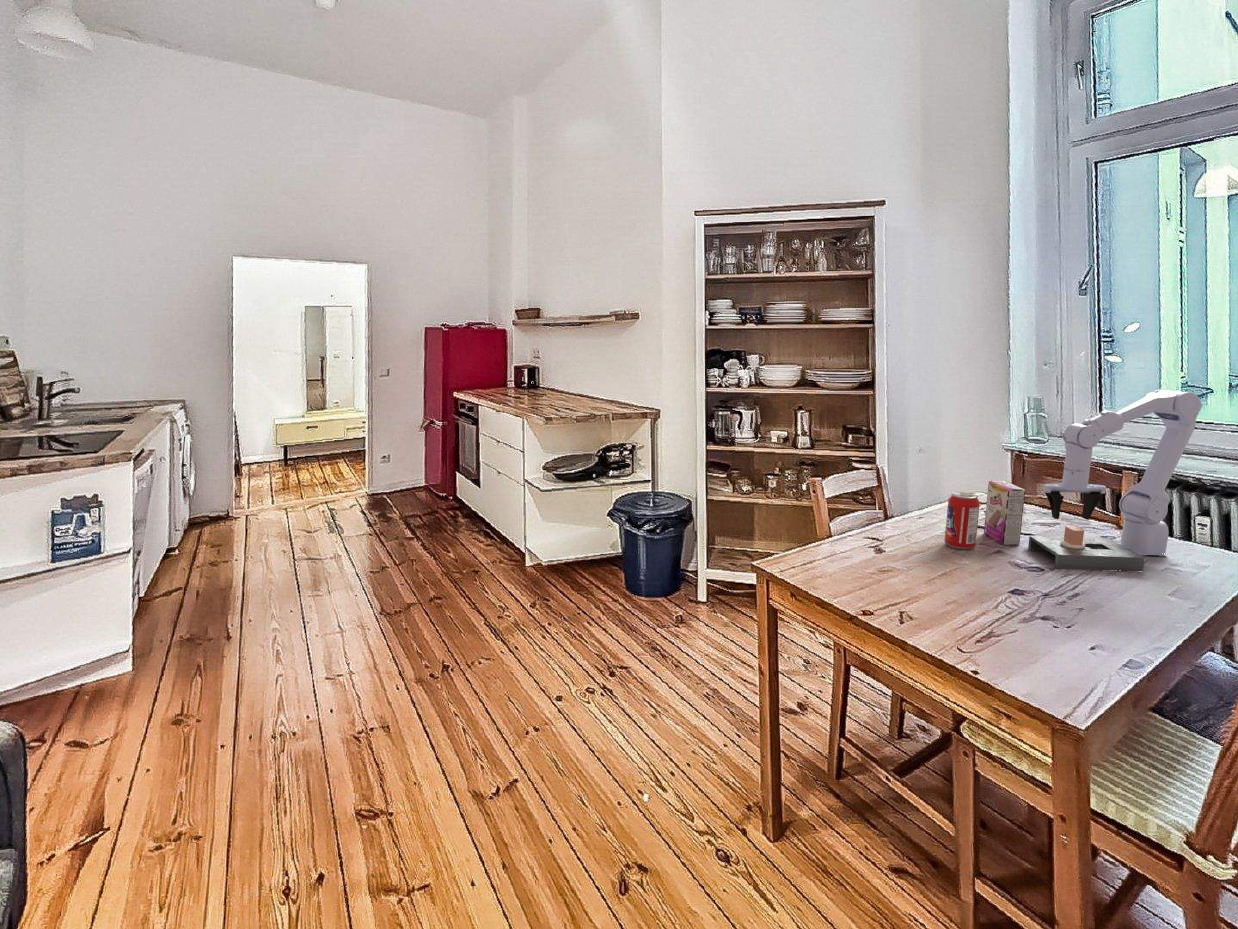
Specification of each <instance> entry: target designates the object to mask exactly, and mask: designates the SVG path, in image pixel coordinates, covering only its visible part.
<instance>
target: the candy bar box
mask: <svg viewBox="0 0 1238 929" xmlns="http://www.w3.org/2000/svg"><path fill="white" fill-rule="evenodd" d="M986 496H987V497H986V508H985V514H984V515H985V517H984V526H983V527H984V528H983V534H984V535H986V536H987V537H989V538H990V539H993V540H994V541H996V542H997V543H999V544H1001V545H1002V546H1020V541H1021V535H1022V534H1021V533H1022V532H1021V531H1022V523H1023V515H1024V508H1025V507H1024V506H1025V499H1026V498H1025V496H1026V489H1025V488H1023V487H1020V486H1018V485H1015V484H1013V483H1011V482H1008V481H1006V480H989V481H988V485H987V495H986Z"/></svg>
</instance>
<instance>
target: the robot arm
mask: <svg viewBox="0 0 1238 929" xmlns="http://www.w3.org/2000/svg"><path fill="white" fill-rule="evenodd" d="M1202 407H1203V403H1202V402H1201V400H1200V398H1199V396H1198V395H1197V393H1194V392H1192V391H1186V392H1185V391H1176V390H1167V389H1157V390H1154V391H1153V392H1149V393H1147V394H1146V396H1145V397H1143V398H1142V399H1139V400H1137V401H1136V402H1133V403H1132V404H1129V405H1127V406H1126V407H1124V408H1122V409H1120V410H1118V411H1116V412H1115V411H1113V410H1103V411H1100V412H1099V413H1100V414H1099V415H1096V416H1094V417H1092V418H1089V419H1088V418H1087V419H1084V420H1083V422H1081V423H1071V424H1070V425H1069V426H1067V427H1066V429H1064V432H1063V433H1061V435H1062V436H1061V437H1062V440H1063V442H1064V443H1065V445H1064V449H1065V455H1064V457H1065V459H1064V464H1063V472H1062V479H1061V480H1062V482H1059V483H1045V484H1044V483H1043V490H1042V491H1043V492H1044V493H1045V496H1046V498H1047V500H1048V502H1049V507H1050V511H1051V517H1052V519H1055V520H1059V519H1060V515H1061V507H1062V504H1063V500H1064V498H1065V496H1064V495H1062V494H1061V493H1073V494H1074V493H1077V494H1078V493H1082V499H1083V505H1082V506H1083V507H1082V516H1081V518H1082V519H1084V520H1086V521H1089V520H1090V518H1091V517H1092V514H1093V512H1094V510H1095V509H1096V507H1097V506H1098V504H1099V503H1100V502H1101V501H1102V500H1103V499H1104V498H1103V497H1104V495H1103V494H1105V495H1106V490H1107V486H1105V485H1102V484H1092V483H1091V484H1090V483H1089V480H1090V479H1089V478H1090V472H1091V471H1090V470H1091V462H1092V456H1093V448H1094V447H1096V446H1097V445H1098V444H1099V442H1100V441H1101V439H1103V438H1106V437H1108V436H1110V435H1113V434H1114V433H1117V432H1120V431H1121V430H1122V429H1123V428H1124V425H1125V424H1126V423H1128V422H1131V421H1134V420H1137V419H1139V418H1141V417H1144V416H1147V415H1149V414H1152V413H1153V414H1154V415H1155V416H1156V417H1157V418H1158V419H1159V420H1160V421H1162V423H1163V425H1164V426H1165V430H1164V433H1163V434H1162V437H1161V439H1160V440H1159V443H1158V444H1157V446H1156V448H1155V451H1154V453H1153V455H1152V456H1151V459H1150V461H1149V464H1148V465H1147V468H1146V470H1145V471H1144V474H1143V476H1142V478H1141V480H1140V481H1139V482H1137V483H1135V484H1133V485H1131V486H1129V488H1128V491H1126V493H1125V494H1124V495H1122V497H1121V498H1120V499H1119V503H1118V507H1119V510H1120V512H1122V517H1124V518H1123V519H1124V520H1123V523H1122V525H1123V526H1122V532H1121V538H1120V539H1121V540H1120V543H1119V544H1120V545H1122V546H1124V547H1126V548H1128V549H1130V550H1132V551H1133V552H1135V553H1137V554H1139V555H1141V556H1146V555H1164V553H1165V555H1167V556H1168V554H1167V547H1168V540H1169V534H1170V533H1169V531H1170V530H1169V526H1168V525H1167V523H1166V522H1164V521H1163V520H1164V519H1165V518H1166V517H1167V515H1168V510H1169V508H1168V506H1169V504H1170V501H1171V498H1170V496H1169V494H1168V493H1167V491H1166V488H1167V486H1168V484H1169V481H1170V479H1171V477H1172V476H1173V473H1174V472H1175V470H1176V467H1177V465H1178V464H1179V462H1180V459H1181V457H1182V455H1183V453H1184V451H1185V449H1186V447H1187V446H1188V443H1189V441H1190V440H1191V437H1192V435H1193V433H1194V431H1195V428H1196V424H1197V417H1198V415H1199V414H1200V412H1201V410H1202ZM1148 496H1149V497H1148ZM1162 553H1163V554H1162Z"/></svg>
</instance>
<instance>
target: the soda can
mask: <svg viewBox="0 0 1238 929" xmlns="http://www.w3.org/2000/svg"><path fill="white" fill-rule="evenodd" d="M978 497H979V496H978V494H975V493H971V492H970V493H969V492H963V491H961V492H958V491H955V492H952V493H951V496H950V497H948V499H947V509H946V520H945V532H944V540H943V541H944V544H946V545H947V546H948V547H950V548H952V549H956V550H962V551H963V550H965V551H966V550H970V549H973V548H975V547H976V545H977V537H978V536H977V535H978V524H979V515H980V505H981V501H980V500H979V498H978Z"/></svg>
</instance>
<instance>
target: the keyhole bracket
mask: <svg viewBox="0 0 1238 929" xmlns="http://www.w3.org/2000/svg"><path fill="white" fill-rule="evenodd" d="M1028 537H1029V538H1028V545H1027V549H1028V550H1029V551H1042V552H1043V551H1044V552H1046V551H1047V552H1050V554H1052V555H1054V556H1055V560H1054V568H1055V569H1057V570H1076V571H1077V570H1083V571H1101V570H1117V571H1116V572H1127V571H1143V572H1144V566H1145V560H1146V557H1145V556H1144V555H1139V554H1137V553H1135V552H1133V551H1132V550H1130V549H1128V548H1126V547H1124V546H1122V545H1120V544H1121V543H1118V542H1116V541H1114V540H1112V539H1110V538H1107V537H1084V536H1083V543H1084V544H1085V548H1084V549H1071V548H1067V547H1063V546H1061V545H1060V542H1061V540H1064V536H1052V535H1050V536H1049V535H1047V536H1046V535H1029V536H1028ZM1119 570H1121V571H1119Z"/></svg>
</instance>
